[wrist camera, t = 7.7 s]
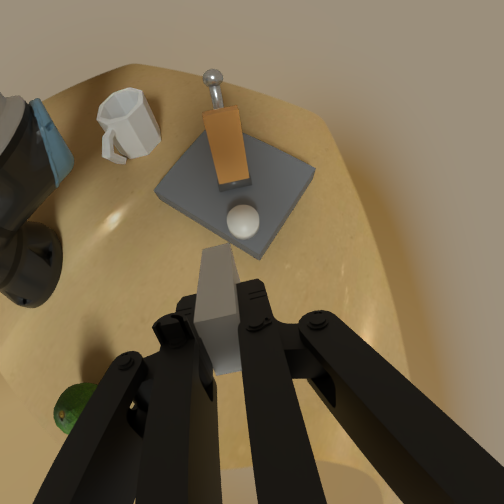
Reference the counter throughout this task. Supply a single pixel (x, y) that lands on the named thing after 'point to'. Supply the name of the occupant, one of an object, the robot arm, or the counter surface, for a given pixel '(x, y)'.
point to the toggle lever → (214, 86)
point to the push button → (243, 222)
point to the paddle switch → (227, 147)
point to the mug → (127, 125)
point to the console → (237, 190)
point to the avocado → (72, 405)
